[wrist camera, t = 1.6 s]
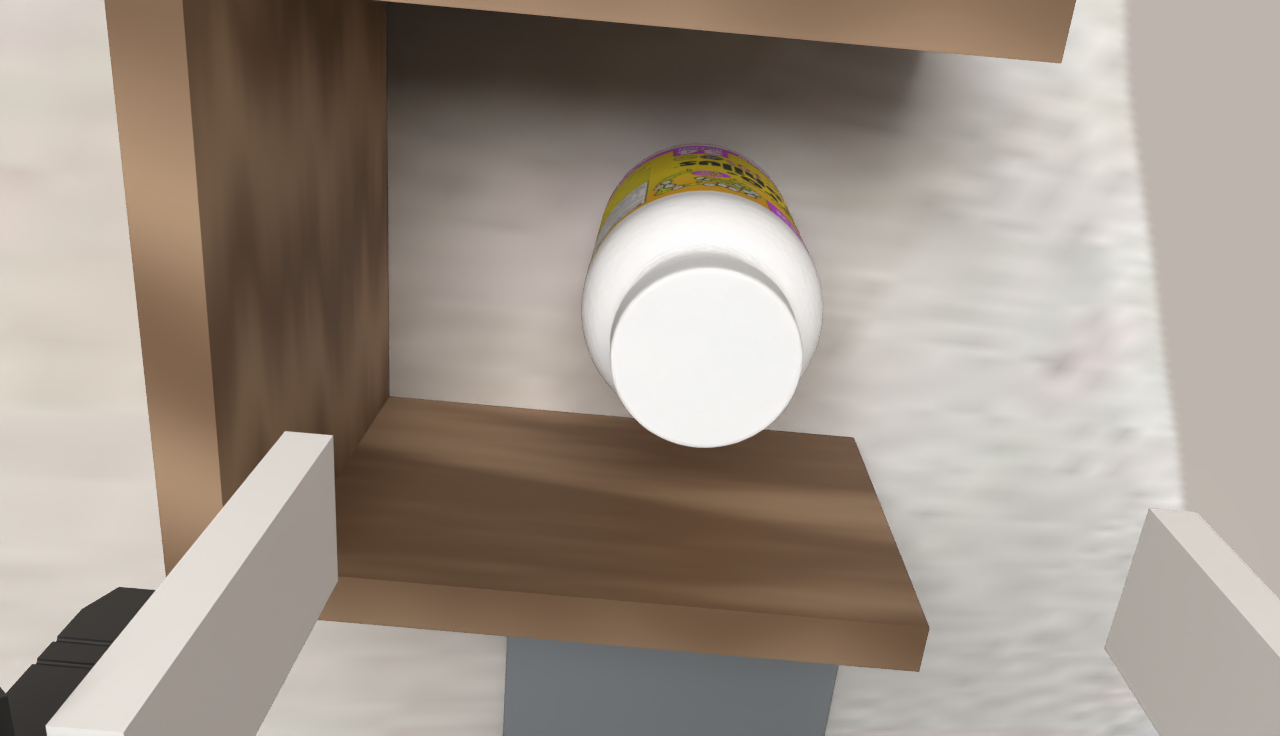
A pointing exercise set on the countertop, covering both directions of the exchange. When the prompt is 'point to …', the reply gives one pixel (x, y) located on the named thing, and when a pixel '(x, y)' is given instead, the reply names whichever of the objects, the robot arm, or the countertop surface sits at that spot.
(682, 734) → the slate mat
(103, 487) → the countertop surface
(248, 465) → the cubby
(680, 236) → the supplement bottle
